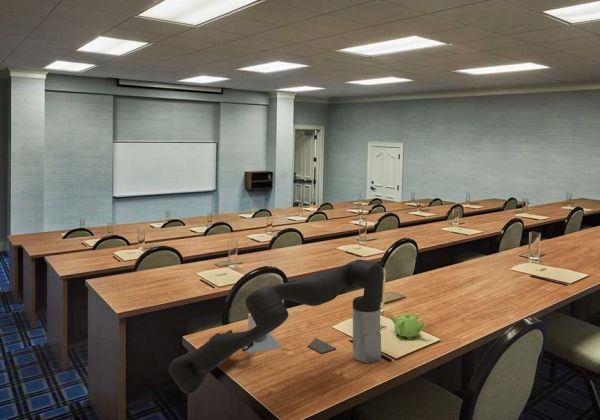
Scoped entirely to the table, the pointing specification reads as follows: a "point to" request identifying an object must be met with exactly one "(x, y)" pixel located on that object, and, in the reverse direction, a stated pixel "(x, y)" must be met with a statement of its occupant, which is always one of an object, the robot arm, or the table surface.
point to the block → (252, 324)
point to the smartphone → (320, 346)
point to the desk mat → (263, 344)
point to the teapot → (407, 325)
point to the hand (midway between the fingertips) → (242, 334)
